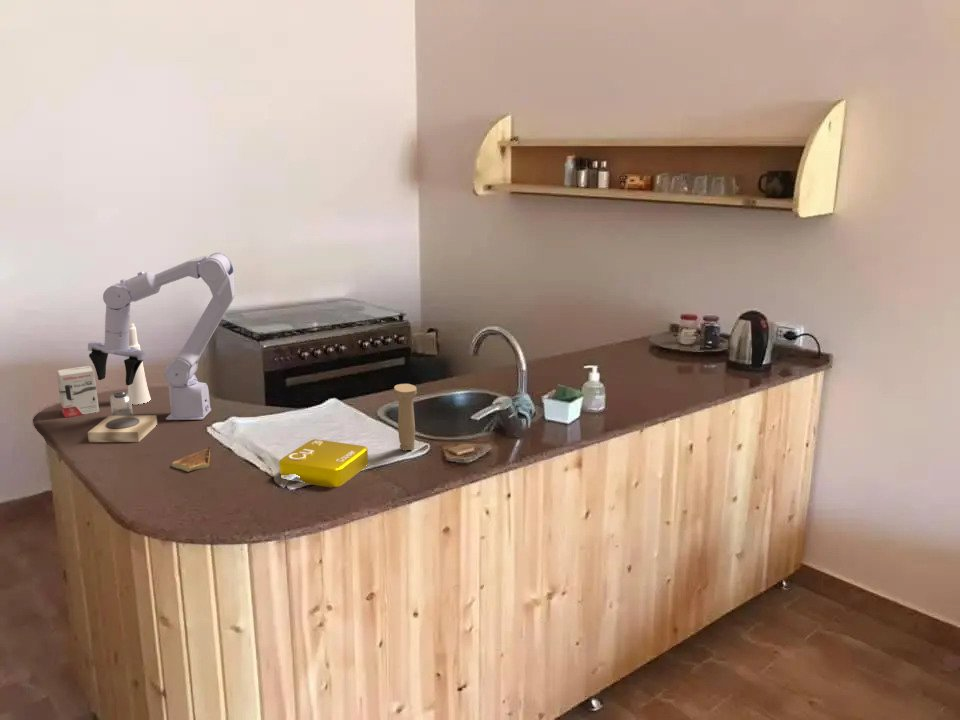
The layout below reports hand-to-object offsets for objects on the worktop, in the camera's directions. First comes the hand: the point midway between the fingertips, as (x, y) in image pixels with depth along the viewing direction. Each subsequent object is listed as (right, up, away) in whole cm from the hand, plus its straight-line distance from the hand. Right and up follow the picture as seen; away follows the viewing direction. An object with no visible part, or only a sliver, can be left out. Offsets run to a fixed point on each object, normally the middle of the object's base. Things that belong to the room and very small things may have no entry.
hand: (115, 381), depth 215 cm
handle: (+77, -15, -20) cm, 81 cm away
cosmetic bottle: (0, -6, +16) cm, 17 cm away
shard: (+29, -18, -27) cm, 43 cm away
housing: (+1, -10, +3) cm, 10 cm away
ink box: (-12, -9, +7) cm, 16 cm away
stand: (+6, -13, -9) cm, 16 cm away
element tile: (+60, -19, -32) cm, 70 cm away
